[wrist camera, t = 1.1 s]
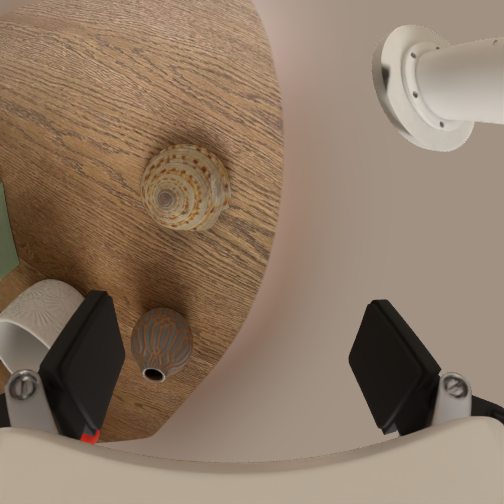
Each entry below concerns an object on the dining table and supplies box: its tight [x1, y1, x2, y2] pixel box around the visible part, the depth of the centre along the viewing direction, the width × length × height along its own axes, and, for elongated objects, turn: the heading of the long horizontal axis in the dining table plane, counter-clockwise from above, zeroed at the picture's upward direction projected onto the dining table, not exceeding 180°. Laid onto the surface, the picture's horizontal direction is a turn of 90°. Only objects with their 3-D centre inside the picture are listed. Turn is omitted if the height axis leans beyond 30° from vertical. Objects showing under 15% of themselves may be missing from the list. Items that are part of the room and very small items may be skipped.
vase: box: [131, 308, 193, 383], centre depth 27 cm, size 7×7×9 cm
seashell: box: [140, 144, 231, 231], centre depth 24 cm, size 8×6×8 cm
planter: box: [0, 279, 85, 374], centre depth 25 cm, size 12×12×11 cm
